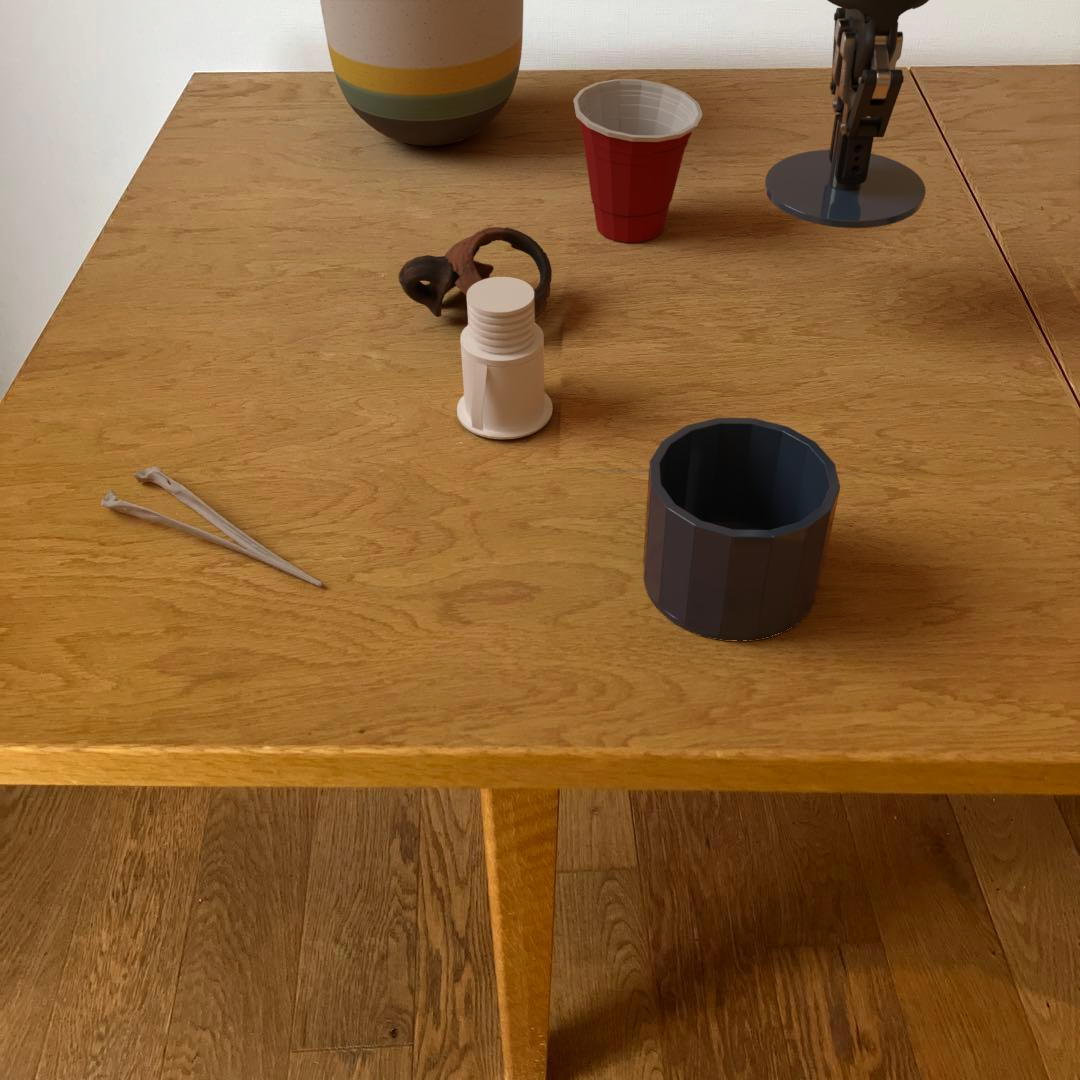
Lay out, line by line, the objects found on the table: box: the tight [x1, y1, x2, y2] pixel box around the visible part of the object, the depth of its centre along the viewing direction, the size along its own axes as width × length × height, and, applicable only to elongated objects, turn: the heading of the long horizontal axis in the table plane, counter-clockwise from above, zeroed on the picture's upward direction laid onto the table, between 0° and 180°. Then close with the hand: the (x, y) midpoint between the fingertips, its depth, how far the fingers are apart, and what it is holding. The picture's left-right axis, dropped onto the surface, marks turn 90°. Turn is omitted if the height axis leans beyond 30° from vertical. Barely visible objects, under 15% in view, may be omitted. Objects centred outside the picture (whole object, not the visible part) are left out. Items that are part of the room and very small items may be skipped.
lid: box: [764, 116, 927, 229], centre depth 89 cm, size 12×12×6 cm
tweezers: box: [100, 465, 323, 588], centre depth 78 cm, size 17×5×2 cm, turn 58°
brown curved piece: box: [398, 226, 553, 321], centre depth 95 cm, size 12×10×8 cm
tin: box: [642, 417, 841, 642], centre depth 72 cm, size 11×11×8 cm
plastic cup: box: [572, 78, 704, 244], centre depth 103 cm, size 11×11×12 cm
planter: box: [319, 0, 524, 147], centre depth 116 cm, size 20×20×21 cm
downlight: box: [456, 276, 554, 440], centre depth 85 cm, size 8×7×10 cm
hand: (846, 171), depth 89 cm, fingers closed on lid, 2 cm apart
